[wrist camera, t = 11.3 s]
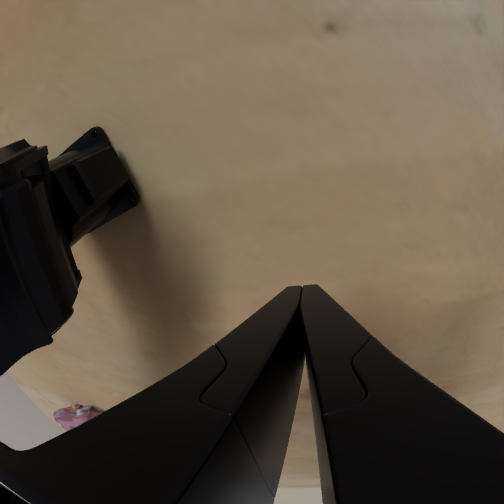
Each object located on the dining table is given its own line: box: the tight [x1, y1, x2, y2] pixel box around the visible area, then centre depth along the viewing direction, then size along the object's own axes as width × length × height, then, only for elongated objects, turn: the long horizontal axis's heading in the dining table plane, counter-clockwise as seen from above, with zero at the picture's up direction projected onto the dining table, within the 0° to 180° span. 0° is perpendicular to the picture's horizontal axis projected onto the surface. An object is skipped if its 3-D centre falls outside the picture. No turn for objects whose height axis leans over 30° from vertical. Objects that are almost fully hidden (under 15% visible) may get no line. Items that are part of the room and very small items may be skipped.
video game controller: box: [53, 405, 103, 431], centre depth 39 cm, size 10×5×7 cm, turn 114°
